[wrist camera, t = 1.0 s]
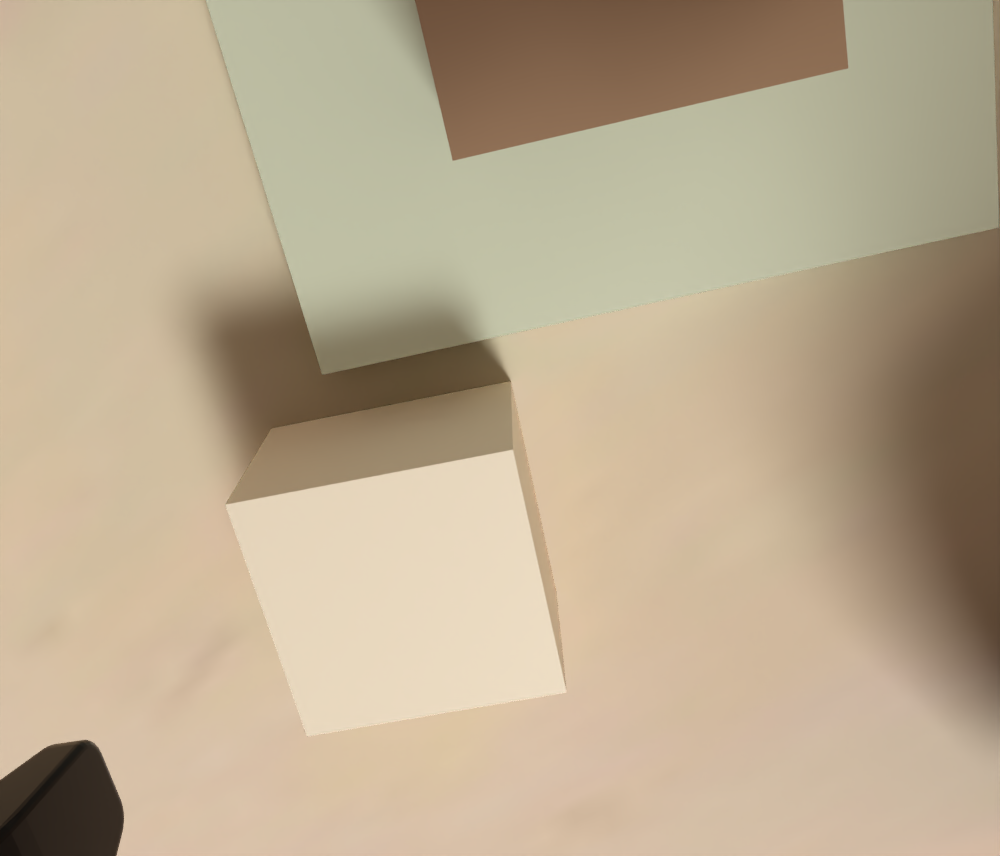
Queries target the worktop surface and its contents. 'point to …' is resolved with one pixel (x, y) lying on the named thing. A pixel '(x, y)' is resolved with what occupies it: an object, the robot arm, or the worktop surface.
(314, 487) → the brick cream
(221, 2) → the baseplate
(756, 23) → the brick walnut
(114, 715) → the worktop surface
